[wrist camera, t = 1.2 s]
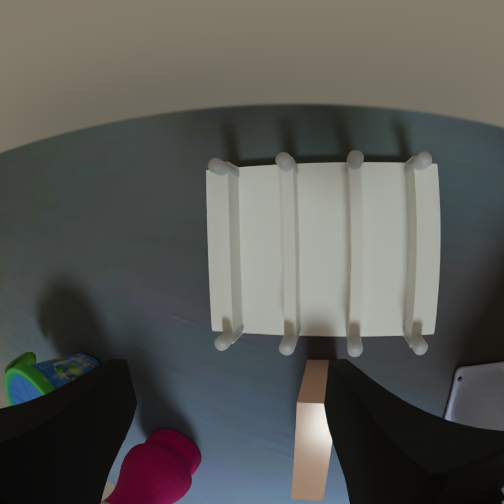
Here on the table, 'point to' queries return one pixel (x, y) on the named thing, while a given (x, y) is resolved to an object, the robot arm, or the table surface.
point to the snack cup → (43, 375)
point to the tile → (311, 435)
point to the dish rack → (324, 250)
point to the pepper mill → (156, 470)
